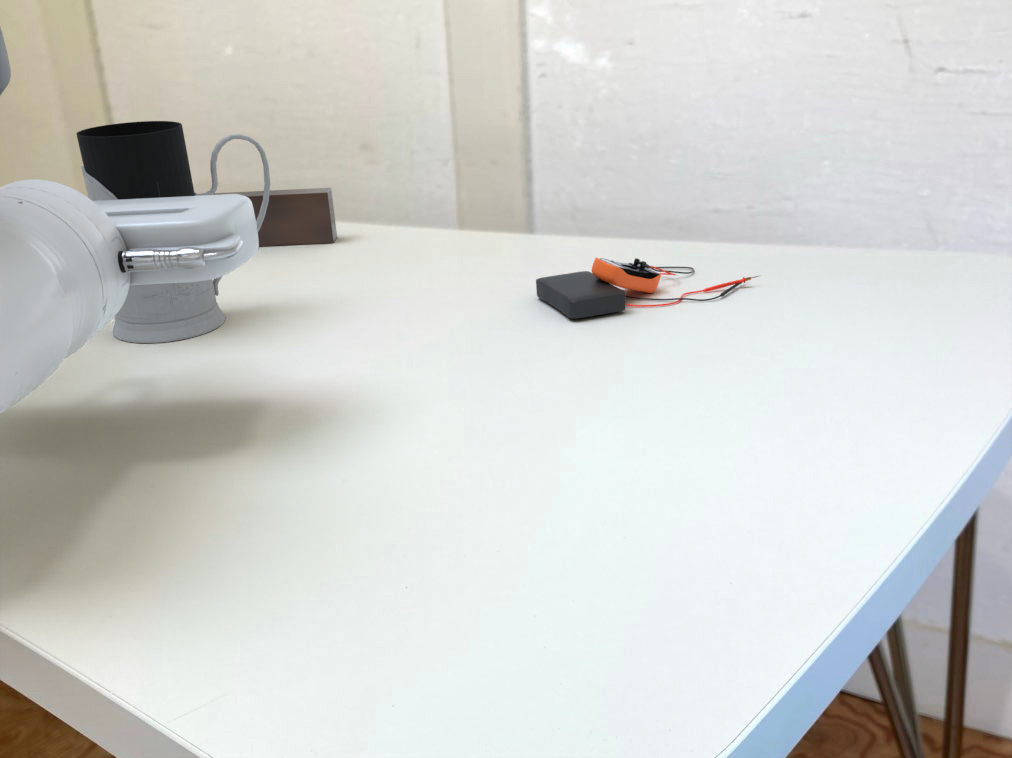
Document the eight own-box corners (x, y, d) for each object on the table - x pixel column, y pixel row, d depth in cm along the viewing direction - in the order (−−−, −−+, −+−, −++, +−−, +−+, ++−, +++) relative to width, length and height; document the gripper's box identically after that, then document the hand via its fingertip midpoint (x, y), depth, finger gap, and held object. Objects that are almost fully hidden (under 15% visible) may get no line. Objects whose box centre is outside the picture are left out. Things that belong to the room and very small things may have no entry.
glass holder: (105, 320, 87) (60, 128, 80) (273, 291, 92) (245, 108, 85) (122, 350, 80) (75, 142, 73) (304, 316, 85) (276, 120, 78)
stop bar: (196, 249, 107) (186, 199, 105) (202, 243, 110) (193, 194, 107) (333, 243, 107) (327, 192, 105) (337, 237, 109) (331, 187, 107)
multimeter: (710, 258, 95) (712, 219, 94) (777, 293, 85) (780, 250, 83) (518, 283, 91) (517, 243, 89) (564, 323, 81) (563, 279, 79)
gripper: (218, 199, 56) (272, 154, 68) (-162, 218, 57) (-42, 170, 69) (239, 315, 59) (286, 252, 71) (-123, 332, 59) (-14, 266, 72)
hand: (123, 212), depth 70 cm, fingers closed
